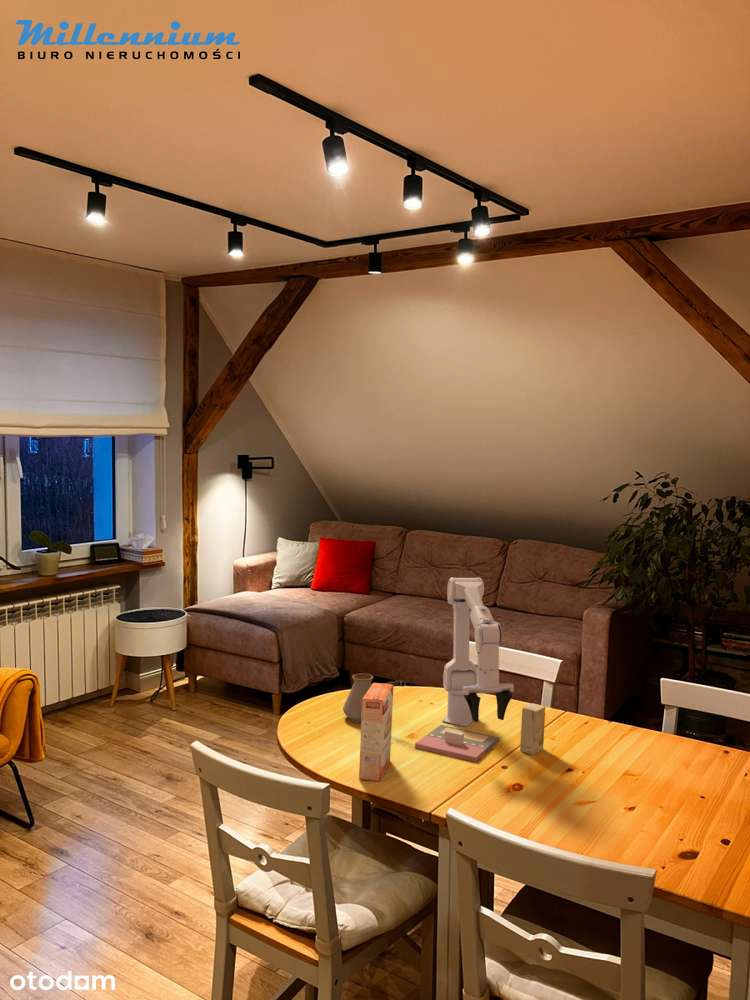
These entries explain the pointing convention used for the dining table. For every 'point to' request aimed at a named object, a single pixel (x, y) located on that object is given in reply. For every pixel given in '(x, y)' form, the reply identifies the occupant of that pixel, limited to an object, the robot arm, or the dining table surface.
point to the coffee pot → (359, 695)
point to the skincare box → (532, 728)
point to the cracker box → (376, 731)
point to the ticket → (467, 737)
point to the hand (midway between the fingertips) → (488, 720)
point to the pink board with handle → (451, 746)
